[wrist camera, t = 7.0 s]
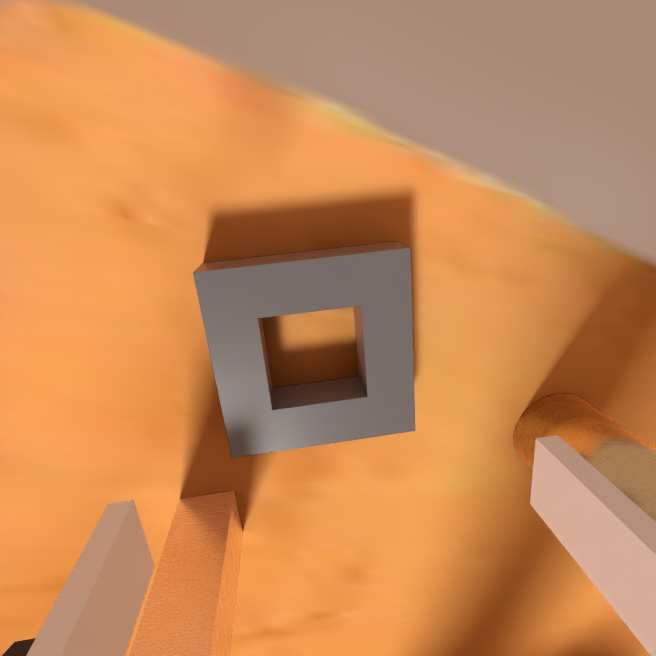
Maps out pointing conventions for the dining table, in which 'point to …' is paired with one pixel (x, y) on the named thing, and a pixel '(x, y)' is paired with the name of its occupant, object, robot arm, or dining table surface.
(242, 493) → the dining table surface
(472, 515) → the dining table surface
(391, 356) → the bore block
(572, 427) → the round bit
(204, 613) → the square bit
